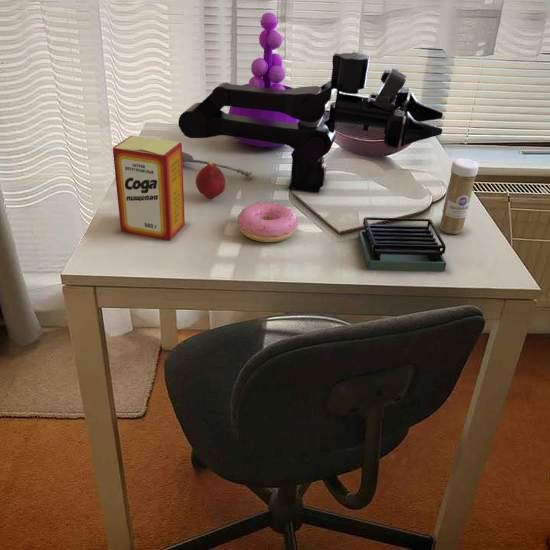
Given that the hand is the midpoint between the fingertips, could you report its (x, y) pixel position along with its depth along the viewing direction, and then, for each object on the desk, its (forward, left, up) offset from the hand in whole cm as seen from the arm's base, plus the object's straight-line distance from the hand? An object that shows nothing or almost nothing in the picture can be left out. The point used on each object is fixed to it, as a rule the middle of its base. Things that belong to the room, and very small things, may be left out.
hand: (442, 123), depth 116 cm
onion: (-42, -13, -17) cm, 47 cm away
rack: (-4, -24, -17) cm, 29 cm away
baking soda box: (-48, -28, -17) cm, 58 cm away
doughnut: (-28, -23, -17) cm, 40 cm away
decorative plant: (-40, +23, -17) cm, 49 cm away
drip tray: (-4, -24, -17) cm, 29 cm away
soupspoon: (-48, +1, -17) cm, 51 cm away
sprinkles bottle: (+5, -11, -17) cm, 21 cm away
